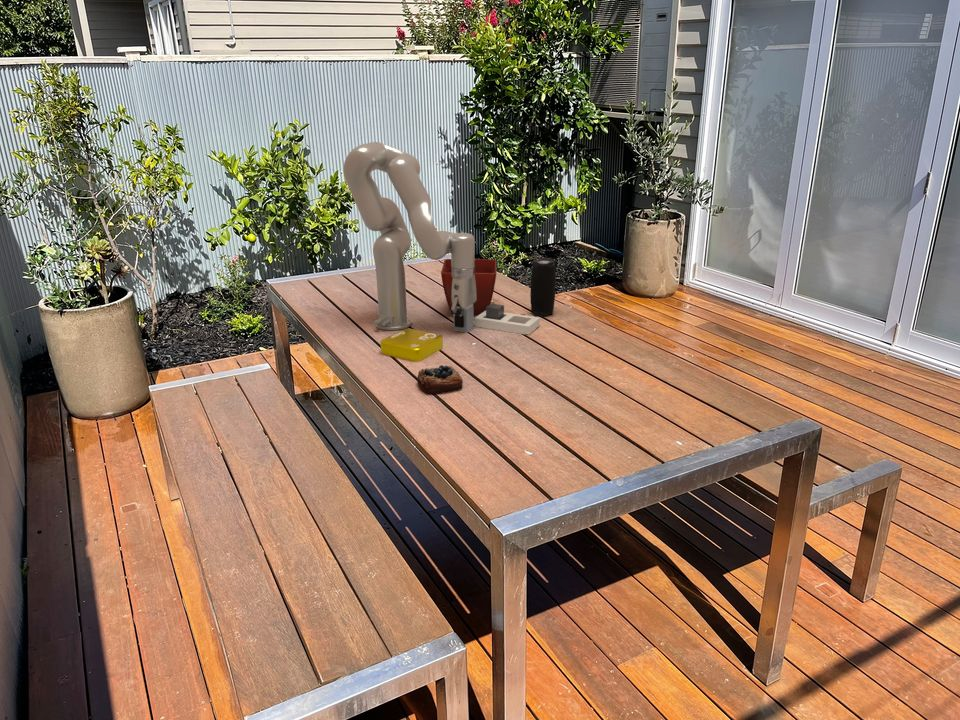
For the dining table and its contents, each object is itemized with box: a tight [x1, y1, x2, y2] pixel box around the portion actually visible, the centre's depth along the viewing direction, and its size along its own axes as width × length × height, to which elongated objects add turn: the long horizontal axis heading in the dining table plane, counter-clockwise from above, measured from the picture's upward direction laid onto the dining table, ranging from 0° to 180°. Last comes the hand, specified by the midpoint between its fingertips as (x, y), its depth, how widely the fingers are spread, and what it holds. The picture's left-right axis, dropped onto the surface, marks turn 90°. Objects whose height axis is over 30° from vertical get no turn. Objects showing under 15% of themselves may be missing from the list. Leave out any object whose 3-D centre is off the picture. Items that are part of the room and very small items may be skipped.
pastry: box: [417, 365, 464, 395], centre depth 193 cm, size 11×12×6 cm
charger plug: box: [452, 304, 475, 334], centre depth 235 cm, size 5×5×9 cm
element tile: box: [380, 327, 444, 363], centre depth 219 cm, size 15×15×5 cm
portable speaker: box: [530, 257, 557, 318], centre depth 249 cm, size 9×9×20 cm
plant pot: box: [440, 258, 497, 317], centre depth 253 cm, size 19×19×17 cm
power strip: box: [474, 302, 541, 336], centre depth 242 cm, size 18×20×7 cm
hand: (463, 323), depth 236 cm, fingers open, 5 cm apart
